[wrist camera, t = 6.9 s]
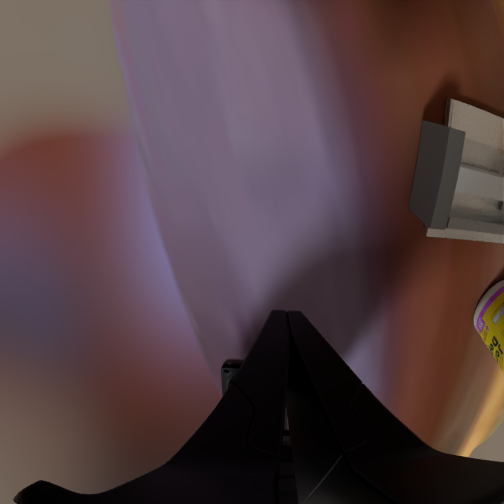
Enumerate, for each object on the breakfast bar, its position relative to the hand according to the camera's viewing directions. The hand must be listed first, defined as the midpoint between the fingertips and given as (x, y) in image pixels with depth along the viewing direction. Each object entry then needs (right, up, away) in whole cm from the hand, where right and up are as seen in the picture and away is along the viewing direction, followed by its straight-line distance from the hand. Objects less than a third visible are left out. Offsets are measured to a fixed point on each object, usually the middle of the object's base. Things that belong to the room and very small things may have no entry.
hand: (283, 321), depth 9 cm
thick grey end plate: (+16, +8, +8) cm, 20 cm away
